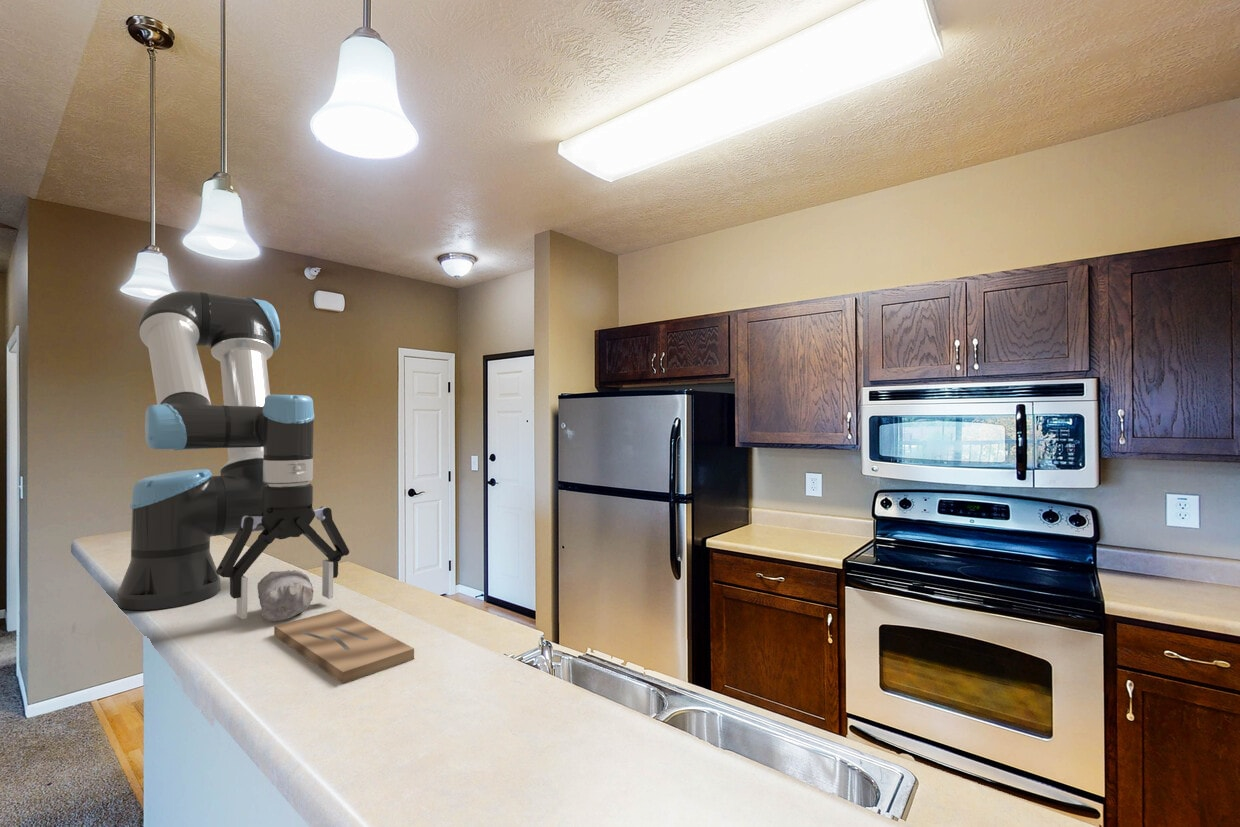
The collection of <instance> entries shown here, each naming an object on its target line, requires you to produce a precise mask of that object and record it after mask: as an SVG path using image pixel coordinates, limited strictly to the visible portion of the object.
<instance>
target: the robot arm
mask: <svg viewBox="0 0 1240 827" xmlns="http://www.w3.org/2000/svg"><path fill="white" fill-rule="evenodd" d="M280 330H281V323H280V319H279V315H278V312H277V311H276V308H275V307H274V305H273V304H271V303H270V302H269V301H267V300H264V299H256V298H253V297H250V296H246V297H240V296H235V295H233V296H232V295H227V294H218V293H213V292H211V293H210V292H204V291H199V290H198V291H197V290H179V291H174V292H171V293H170V292H169V293H168V294H165V295H163V296H161V297H159V298H158V299H156V300H154V301H153V302H151V303H150V304H149V305H148V306H147V307H146V308H145V309H144V311H143V312H142V314H141V315H140V319H139V321H138V332H139V338H140V340H141V342H142V343H143V344H144V345H145V347H147V348H148V352H149V360H150V366H151V372H152V379H153V385H154V393H155V398H156V404H152V405H151V404H150V405H149V406H148V407H146V409H145V415H144V416H145V417H144V434H145V435H144V437H145V443H146V445H147V446H148V448H150V449H152V450H173V451H182V450H203V449H206V450H207V449H227V457H228V460H227V462H226V463H225V464H224V465H222V467H221V468H220V475H214V476H213V473H212V472H211V470H210V469H208V468H197V469H187V470H179V471H178V470H177V471H172V472H167V473H160V474H155V475H152V476H151V475H150V476H147V477H144V478H142V479H140V480H138V481H136V482H135V484H133V487H132V492H131V493H132V494H131V503H130V504H129V507H130V509H131V533H130V534H131V539H130V562H129V565H128V567H127V569H126V571H125V573H124V577H123V579H122V581H121V584H120V587H119V589H118V591H117V602H116V603H117V607H118V608H120V609H124V610H129V611H131V610H133V611H147V610H159V609H169V608H174V607H175V608H176V607H180V606H185V605H189V604H193V603H197V602H200V601H204V600H206V599H209V598H212V597H214V596H215V595H217V594H219V593H220V591H221V578H228V579H229V595H230V597H231V598H232V599H234V600H235V599H236V613H235V614H236V616H237V617H239V618H240V619H241V620H244V619H247V618H248V593H249V592H248V588H249V586H248V582H249V581H248V577H247V576H245V575H244V574H246V573H247V572H248V570H249V568H251V566H252V565H253V564H254V563H255V562H256V561H257V559H258V558H259V557H260V555H261V554H262V553H263V552H264V551H265V549H266V548H268V546H269V545H270V544H272V543H273V542H274V541H275V539H276V540H284V539H285V540H286V539H288V538H300V536H301V535H303V536H305V537H306V538H307V539H308V540H309V541H310V542H311V543H312V544H313V545H314V546H315V547H316V548H317V549H318V550H319V551H320V552H321V553H322V554H323V555H324V556H326V558H327V559H323V560H322V586H321V587H322V590H321V591H322V592H321V596H322V597H324V598H326V599H328V600H330V599H333V598H334V578H335V579H336V578H338V576H339V562H340V561H341V560H342V557H344V556H348V555H349V554H350V549H349V547H348V546H347V544H346V542H345V541H344V540H345V539H344V538H343V537H342V535H341V532H340V531H339V529H338V527H337V525H336V524H335V521H334V520H333V512H332V508H331V507H327V506H323V505H322V506H320V507H319V508H318V509H313V502H314V501H313V500H314V497H313V496H314V491H313V490H314V486H313V485H312V483H310V482H311V481H313V480H314V478H313V477H314V424H315V423H314V419H315V417H316V416H315V412H314V400H313V398H312V397H311V396H309V395H304V394H303V395H300V394H271V391H270V390H271V389H270V381H269V372H268V365H267V364H268V363H267V362H268V361H267V360H269V359H270V358H271V357H273V355H274V351H277V350H278V348H279V346H280V344H281V337H282V336H281V331H280ZM198 346H201V347H209V348H210V353H211V356H212V357H213V358H214V359H215V360H216V361H219V362H220V363H219V364H220V370H221V371H220V372H221V373H220V374H221V386H222V397H223V398H222V399H223V405H215V404H214V405H213V404H212V402H211V398H210V395H209V391H208V385H207V382H206V379H205V378H206V377H205V374H204V370H203V366H202V362H201V359H200V358H201V357H200V355H199V350H198ZM315 517H316V519H317V520H318V521H320V523H321V525H322V527H323V529H324V530H325V532H326V534H327V536H328V537H329V539H330V542H331V543H332V545H333V546H334V547H331V546H330V545H329V544H328V543H327V541H325V540H324V539H323V538H322V536H320V535H319V534H318V533H317V532H316V530H315V529H314V528H313V527H312V526H311V523H312V522H313V520H314V519H315ZM253 532H260V533H259V535H258V537H257V538H256V540H255V541H254V542H253V543H252V544H251V546H250V547H249V548H248V549H247V550H246V551H245V553H243V555H242V556H241V557H240V555H241V553H242V552H243V550H244V548H245V546H246V544H247V542H248V540H249V538H250V536H251V535H252V533H253ZM234 534H235V535H234ZM226 535H227V536H228V535H234V537H233V539H232V541H231V542H230V545H229V547H228V548H227V550H226V552H225V554H224V555H223V558H221V561H220V563H219V565H218V567H216V564H215V561H214V559H213V556H212V554H211V537H216V536H217V537H218V536H226ZM333 548H334V549H335V550H334V549H333ZM239 557H240V558H239Z"/></svg>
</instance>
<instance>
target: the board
mask: <svg viewBox="0 0 1240 827" xmlns="http://www.w3.org/2000/svg"><path fill="white" fill-rule="evenodd" d="M273 630H274V631H273V632H274V633H273V636H275V637H276V638H277V639H278V640H281V642H283V643H285V644H286V645H288V647H290V648H292V649H293V650H294V651H296V652H297V653H298V654H300V655H301V656H303V657H304V658H306V659H307V660H309V661H310V662H312V663H313V664H314V665H316V666H317V667H319V668H320V669H322V670H323V671H324V672H325V673H327V674H329V675H330V676H331V677H333V678H334V679H335V680H336V681H339V682H340V683H341V684H346V683H348V682H352V681H355V680H357V679H360V678H364V677H366V676H369V675H373V674H375V673H379V672H380V671H383V670H386V669H389V668H392V667H394V666H397V665H400V664H403V663H406V662H409V661H412V660H414V659H415V647H412V646H411V645H408V644H407V643H405V642H403V641H401V640H399V639H397V638H395V637H393V636H391V635H389V634H387V633H385V632H383V631H382V630H380V629H377V628H376V627H374V626H372V625H370V624H368V623H367V622H365V621H362V620H361V619H358V618H357V617H354V616H353V615H351V614H350V613H348V612H345V611H343V610H341V609H336V610H332V611H328V612H323V613H320V614H316V615H312V616H308V617H305V618H301V619H296V620H291V621H288V622H283V623H280V624H279V623H278V624H276V625H274V626H273Z"/></svg>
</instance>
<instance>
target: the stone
mask: <svg viewBox="0 0 1240 827" xmlns="http://www.w3.org/2000/svg"><path fill="white" fill-rule="evenodd" d="M257 594H258V600H259V605H260V607H261V608H260V614H261V615H262V617H263V618H264V620H265V621H267V622H268V621H269V622H279V621H284V620H287V619H288V620H289V618H292V617H295V616H298V614H302V613H303V612H305V611H306V610H307V609H308V608H309V606H310V605H311V602H312V601H313V598H314V587H313V584H312V582H311V580H310V576H309V575H307V574H305V573H303V572H302V571H299V570H290V569H289V570H284V571H283V570H280V571H278V570H277V571H271V572H268V574H266V575H265V576H263V577H262V578H261V579H260V581H259V582H257Z"/></svg>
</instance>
